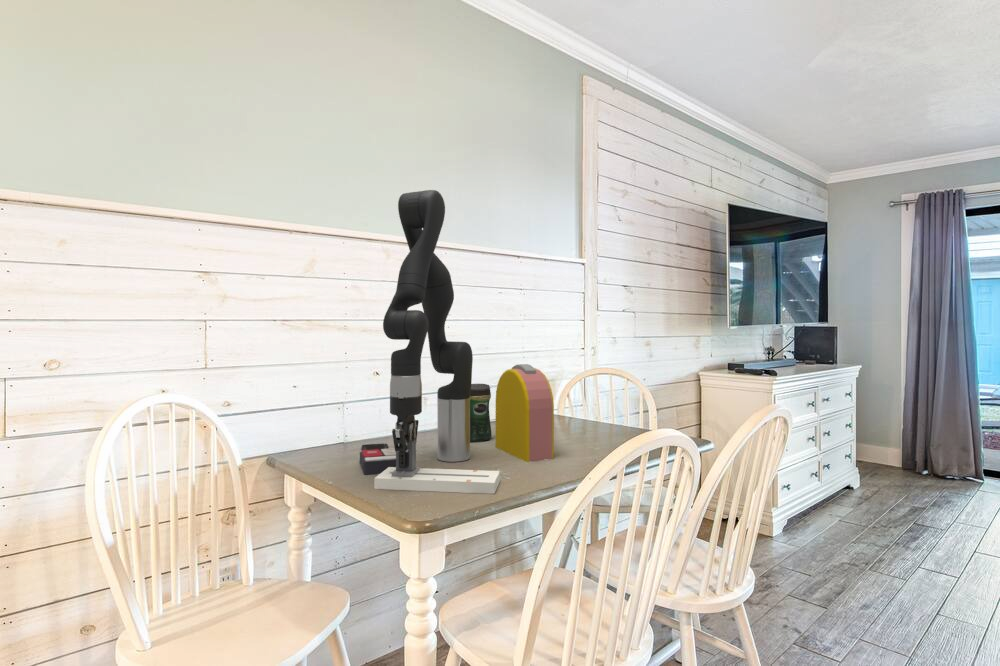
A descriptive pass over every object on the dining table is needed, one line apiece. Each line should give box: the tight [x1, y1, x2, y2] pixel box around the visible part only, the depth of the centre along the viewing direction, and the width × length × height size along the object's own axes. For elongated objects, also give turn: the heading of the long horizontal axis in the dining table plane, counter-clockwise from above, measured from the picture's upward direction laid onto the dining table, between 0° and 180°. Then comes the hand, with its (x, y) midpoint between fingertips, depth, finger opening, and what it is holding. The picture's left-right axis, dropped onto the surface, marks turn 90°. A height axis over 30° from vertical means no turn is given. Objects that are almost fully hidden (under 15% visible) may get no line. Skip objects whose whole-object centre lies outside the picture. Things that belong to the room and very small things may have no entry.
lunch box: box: [495, 363, 555, 463], centre depth 163 cm, size 21×9×26 cm, turn 25°
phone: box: [361, 443, 389, 451], centre depth 164 cm, size 8×1×15 cm
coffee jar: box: [470, 383, 492, 443], centre depth 181 cm, size 10×8×19 cm
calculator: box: [359, 447, 396, 476], centre depth 147 cm, size 11×4×15 cm
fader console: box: [373, 467, 501, 495], centre depth 130 cm, size 10×28×3 cm, turn 83°
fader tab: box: [392, 439, 421, 477], centre depth 131 cm, size 6×5×8 cm
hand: (405, 465), depth 131 cm, fingers closed on fader tab, 3 cm apart
